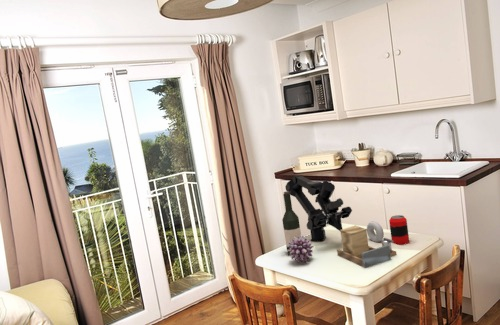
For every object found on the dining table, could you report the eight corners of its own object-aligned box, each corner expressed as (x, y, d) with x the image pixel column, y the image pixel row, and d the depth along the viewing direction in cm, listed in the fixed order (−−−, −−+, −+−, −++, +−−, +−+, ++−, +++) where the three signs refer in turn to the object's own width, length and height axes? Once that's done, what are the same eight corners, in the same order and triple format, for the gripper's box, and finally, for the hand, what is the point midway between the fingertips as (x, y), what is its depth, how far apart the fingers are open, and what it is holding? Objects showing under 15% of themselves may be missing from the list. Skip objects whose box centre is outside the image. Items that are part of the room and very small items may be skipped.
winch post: (379, 256, 182) (377, 238, 181) (388, 253, 184) (386, 235, 183) (389, 260, 176) (387, 242, 175) (399, 257, 178) (396, 239, 177)
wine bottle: (290, 249, 209) (281, 190, 206) (306, 249, 205) (297, 189, 202) (284, 255, 202) (274, 194, 198) (300, 255, 198) (291, 193, 195)
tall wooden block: (343, 254, 189) (339, 230, 188) (358, 249, 192) (355, 225, 191) (354, 258, 181) (350, 233, 180) (369, 253, 184) (366, 229, 183)
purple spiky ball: (317, 256, 194) (314, 231, 192) (312, 266, 182) (308, 240, 181) (293, 257, 198) (289, 232, 196) (286, 267, 187) (282, 241, 185)
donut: (386, 243, 196) (383, 222, 195) (380, 245, 195) (378, 224, 194) (372, 238, 205) (369, 219, 204) (366, 240, 204) (363, 220, 203)
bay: (337, 256, 190) (335, 242, 189) (361, 248, 194) (359, 235, 193) (365, 269, 171) (363, 253, 170) (391, 260, 175) (389, 245, 174)
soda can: (412, 242, 192) (409, 217, 190) (396, 246, 191) (393, 220, 189) (404, 238, 199) (401, 213, 198) (389, 241, 198) (385, 216, 197)
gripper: (313, 198, 195) (329, 226, 186) (347, 189, 201) (364, 216, 192) (307, 212, 203) (322, 239, 194) (340, 203, 209) (356, 229, 200)
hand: (341, 230), depth 195 cm, fingers closed
